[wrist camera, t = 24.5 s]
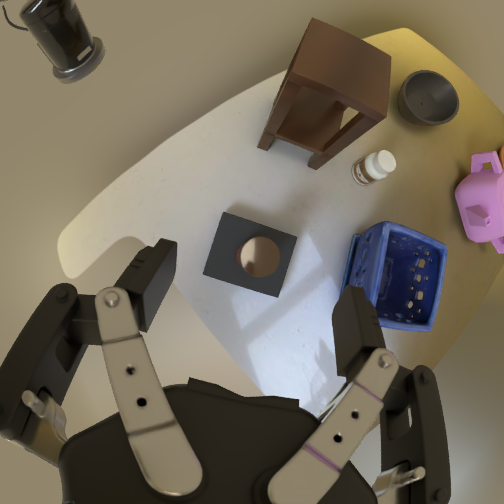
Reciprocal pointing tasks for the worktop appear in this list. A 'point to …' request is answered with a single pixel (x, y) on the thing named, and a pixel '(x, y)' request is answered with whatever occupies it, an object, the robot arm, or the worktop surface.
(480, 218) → the teapot
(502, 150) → the saucer
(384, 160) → the pill bottle
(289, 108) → the stand
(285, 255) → the pad
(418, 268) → the flower pot
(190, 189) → the worktop surface
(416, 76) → the bowl
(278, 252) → the spice jar
